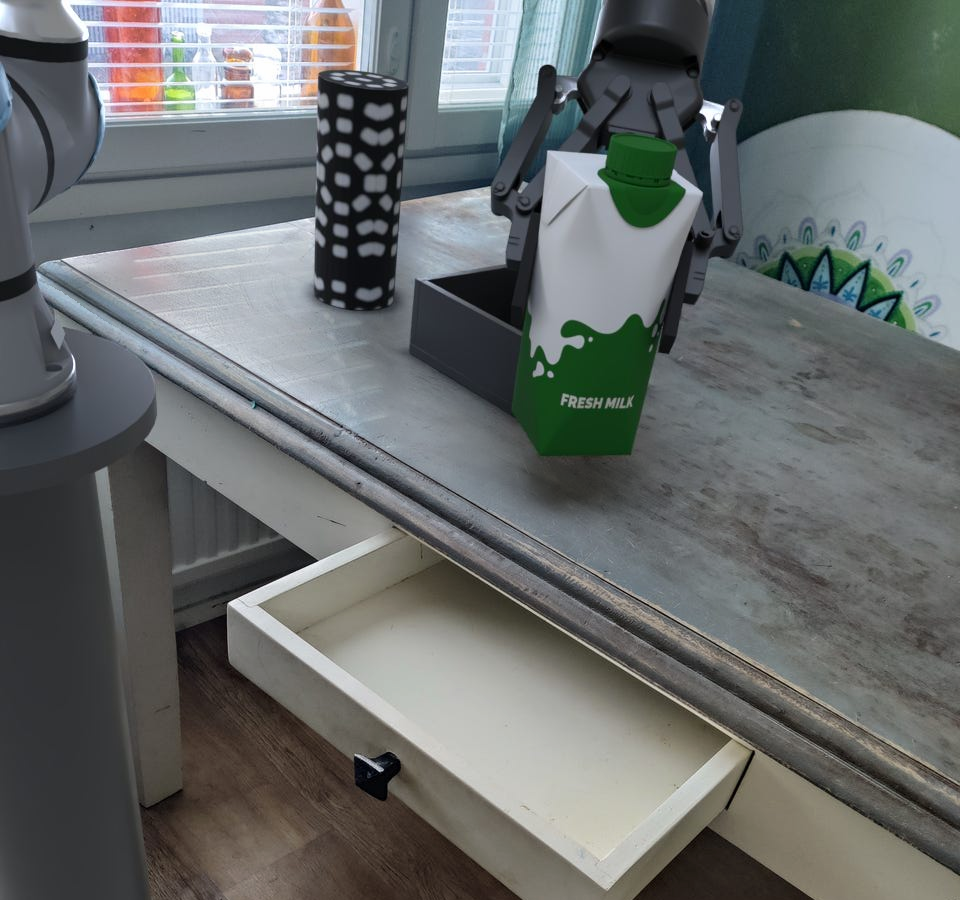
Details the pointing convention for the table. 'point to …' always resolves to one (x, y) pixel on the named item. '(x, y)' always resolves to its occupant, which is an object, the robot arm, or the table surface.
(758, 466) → the table surface
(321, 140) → the white-spotted black cylinder
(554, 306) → the milk carton
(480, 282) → the basket
